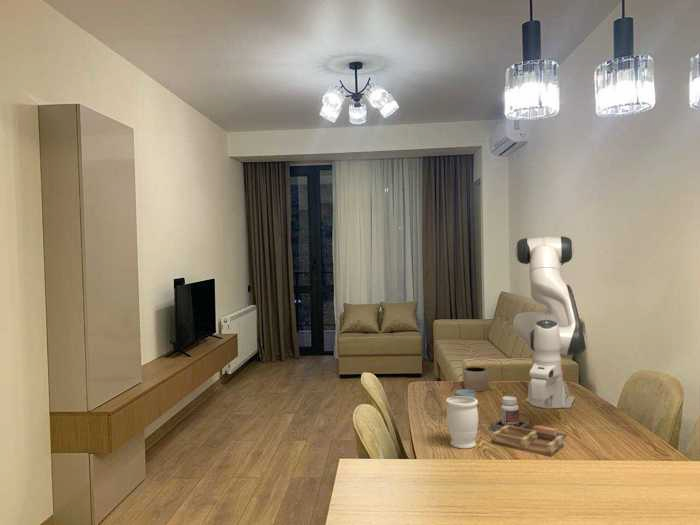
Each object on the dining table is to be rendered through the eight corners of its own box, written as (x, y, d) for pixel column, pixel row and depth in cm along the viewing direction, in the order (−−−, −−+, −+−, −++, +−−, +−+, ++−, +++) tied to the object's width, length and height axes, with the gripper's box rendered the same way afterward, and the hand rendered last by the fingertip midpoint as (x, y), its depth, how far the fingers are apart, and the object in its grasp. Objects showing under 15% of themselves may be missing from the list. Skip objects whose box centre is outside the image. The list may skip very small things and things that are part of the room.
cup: (471, 414, 208) (470, 388, 208) (479, 420, 200) (478, 393, 200) (453, 416, 206) (452, 390, 206) (460, 422, 199) (460, 395, 199)
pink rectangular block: (536, 435, 180) (535, 424, 180) (556, 439, 176) (556, 428, 176) (533, 436, 178) (533, 426, 178) (554, 441, 174) (553, 430, 174)
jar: (444, 440, 180) (442, 396, 180) (473, 438, 181) (472, 395, 181) (452, 451, 169) (451, 405, 169) (483, 449, 170) (482, 403, 170)
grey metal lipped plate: (540, 431, 186) (540, 423, 186) (566, 436, 180) (566, 428, 180) (529, 439, 178) (529, 431, 178) (556, 444, 172) (555, 436, 172)
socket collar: (503, 422, 197) (503, 417, 197) (530, 428, 190) (530, 422, 190) (490, 430, 189) (490, 424, 189) (518, 435, 182) (518, 430, 182)
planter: (484, 393, 240) (483, 372, 240) (461, 390, 246) (460, 370, 246) (490, 387, 249) (490, 367, 249) (468, 385, 255) (467, 366, 255)
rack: (505, 434, 184) (505, 424, 184) (563, 446, 171) (563, 435, 171) (491, 443, 175) (491, 432, 175) (551, 456, 162) (551, 445, 162)
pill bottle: (523, 429, 188) (522, 398, 188) (511, 433, 185) (510, 401, 185) (509, 425, 194) (508, 394, 194) (498, 428, 190) (497, 397, 190)
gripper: (549, 360, 191) (550, 398, 191) (527, 372, 175) (528, 413, 176) (567, 362, 187) (568, 401, 187) (545, 375, 171) (546, 417, 172)
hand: (548, 407), depth 181 cm, fingers closed
